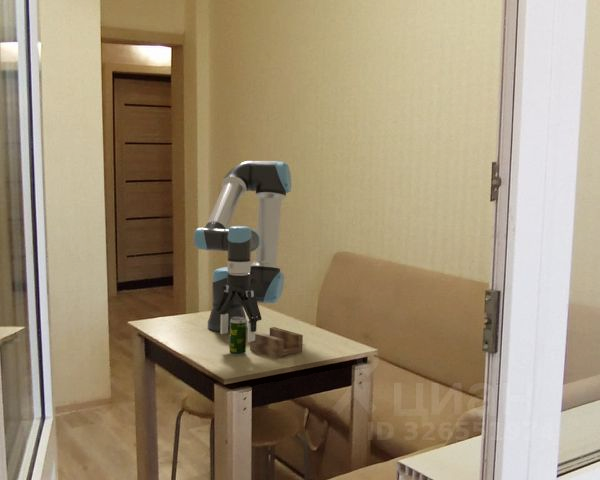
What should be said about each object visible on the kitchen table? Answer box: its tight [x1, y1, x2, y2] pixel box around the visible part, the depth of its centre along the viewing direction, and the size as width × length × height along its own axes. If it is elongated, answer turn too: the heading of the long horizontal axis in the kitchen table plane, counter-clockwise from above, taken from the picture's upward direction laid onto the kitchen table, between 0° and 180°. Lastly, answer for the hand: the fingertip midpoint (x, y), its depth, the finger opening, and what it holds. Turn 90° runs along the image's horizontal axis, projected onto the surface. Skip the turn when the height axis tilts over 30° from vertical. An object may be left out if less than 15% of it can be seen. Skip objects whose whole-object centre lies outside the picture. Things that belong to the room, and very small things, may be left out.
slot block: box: [249, 326, 304, 360], centre depth 232 cm, size 14×11×6 cm
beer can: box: [229, 317, 247, 357], centre depth 227 cm, size 5×5×12 cm
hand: (237, 337), depth 227 cm, fingers open, 13 cm apart
